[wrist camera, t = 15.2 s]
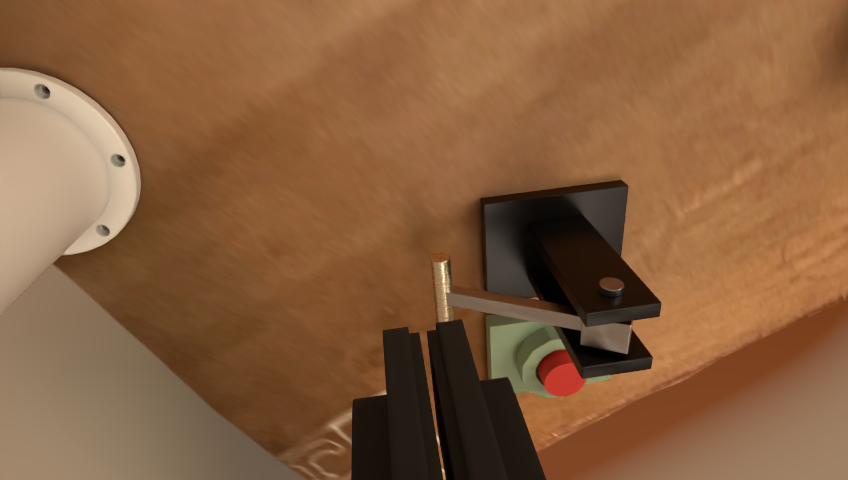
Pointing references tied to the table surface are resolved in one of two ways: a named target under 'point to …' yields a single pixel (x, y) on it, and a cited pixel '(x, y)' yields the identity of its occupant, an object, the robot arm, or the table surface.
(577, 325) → the lever
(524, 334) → the button box
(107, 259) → the table surface
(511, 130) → the table surface
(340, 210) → the table surface
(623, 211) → the bracket
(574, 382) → the button
